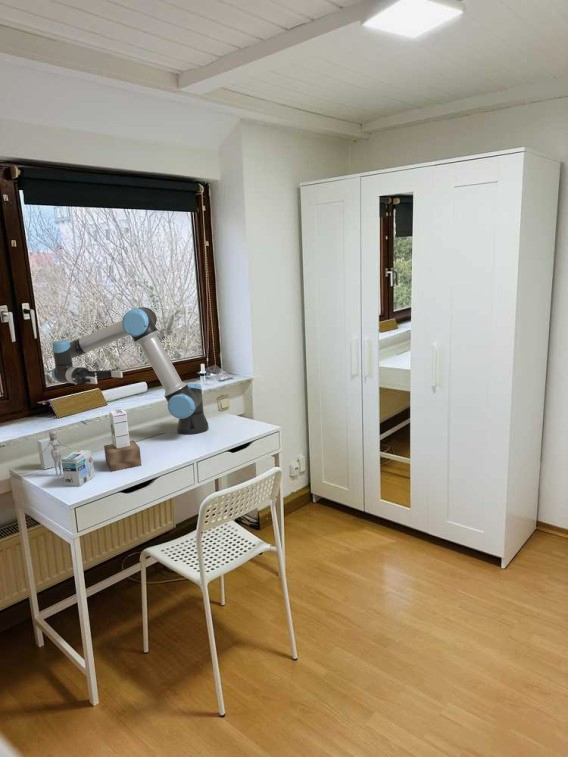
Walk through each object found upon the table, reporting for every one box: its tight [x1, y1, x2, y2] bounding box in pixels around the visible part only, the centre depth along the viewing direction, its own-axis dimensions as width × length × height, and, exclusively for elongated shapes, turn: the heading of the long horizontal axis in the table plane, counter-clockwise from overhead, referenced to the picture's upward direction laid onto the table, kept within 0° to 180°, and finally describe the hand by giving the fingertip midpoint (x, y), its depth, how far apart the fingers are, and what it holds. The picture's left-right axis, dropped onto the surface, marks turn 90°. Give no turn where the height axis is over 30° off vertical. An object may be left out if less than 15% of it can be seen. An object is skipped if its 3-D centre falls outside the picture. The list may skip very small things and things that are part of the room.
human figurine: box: [39, 430, 72, 477], centre depth 222 cm, size 12×4×18 cm, turn 131°
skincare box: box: [36, 436, 59, 470], centre depth 233 cm, size 6×4×12 cm
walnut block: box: [103, 439, 142, 473], centre depth 230 cm, size 12×12×8 cm
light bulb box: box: [60, 449, 96, 487], centre depth 214 cm, size 11×7×11 cm, turn 168°
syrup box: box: [109, 409, 131, 449], centre depth 228 cm, size 6×6×14 cm
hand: (109, 377), depth 243 cm, fingers open, 13 cm apart
